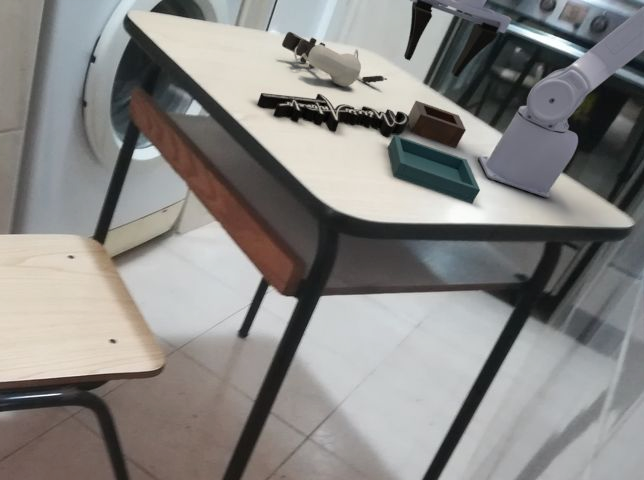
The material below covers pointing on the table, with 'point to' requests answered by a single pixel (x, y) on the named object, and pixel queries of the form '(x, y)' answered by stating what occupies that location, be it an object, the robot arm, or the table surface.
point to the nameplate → (333, 113)
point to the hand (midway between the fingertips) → (430, 66)
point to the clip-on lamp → (327, 60)
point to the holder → (432, 169)
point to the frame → (436, 124)
